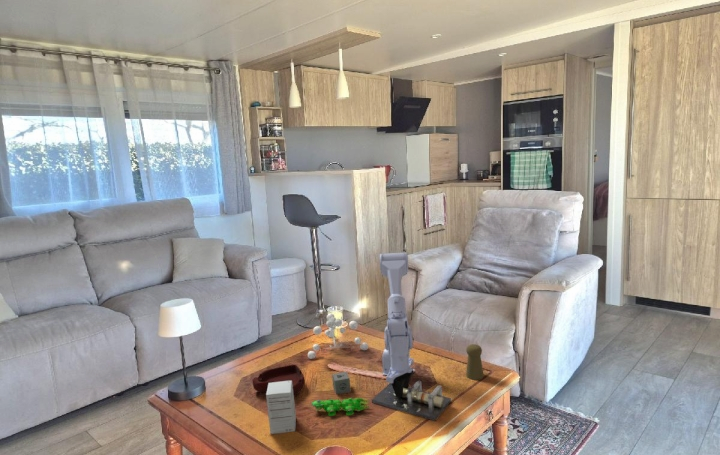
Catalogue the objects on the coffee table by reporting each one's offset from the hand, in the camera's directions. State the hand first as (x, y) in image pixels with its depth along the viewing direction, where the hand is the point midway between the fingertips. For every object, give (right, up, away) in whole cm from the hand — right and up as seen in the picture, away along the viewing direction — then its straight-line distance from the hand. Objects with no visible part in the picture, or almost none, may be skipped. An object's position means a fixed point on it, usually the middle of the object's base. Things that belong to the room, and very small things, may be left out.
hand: (401, 393), depth 146 cm
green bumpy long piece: (-19, -4, -4) cm, 20 cm away
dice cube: (-20, -2, +9) cm, 22 cm away
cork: (+27, +2, +12) cm, 29 cm away
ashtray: (-40, -3, +14) cm, 42 cm away
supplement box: (-36, -6, -10) cm, 38 cm away
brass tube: (+5, 0, -3) cm, 6 cm away
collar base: (+3, -2, -2) cm, 4 cm away
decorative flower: (-26, +2, +41) cm, 49 cm away
